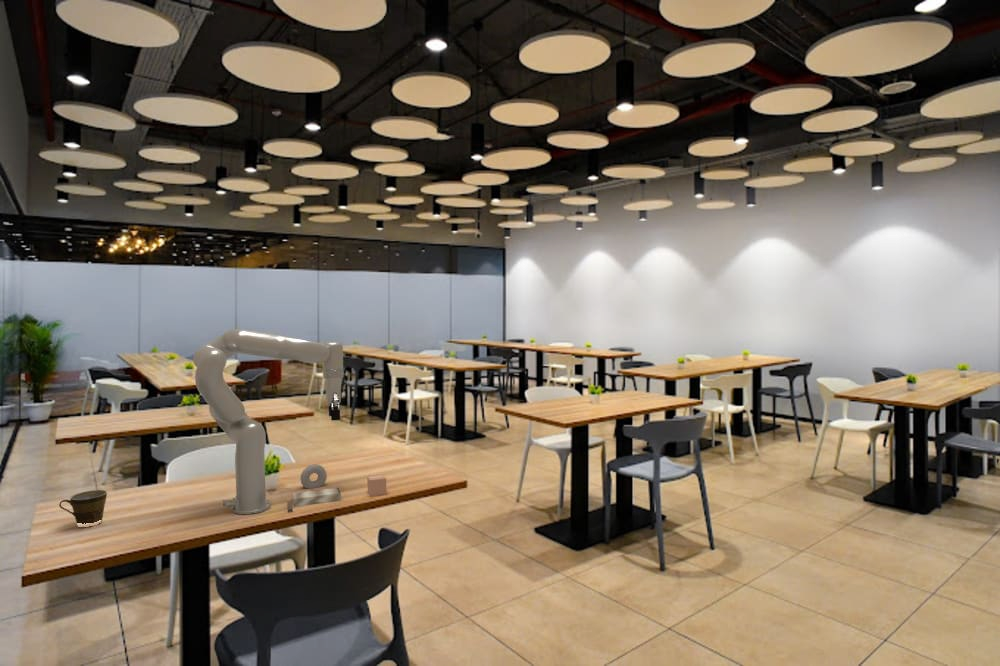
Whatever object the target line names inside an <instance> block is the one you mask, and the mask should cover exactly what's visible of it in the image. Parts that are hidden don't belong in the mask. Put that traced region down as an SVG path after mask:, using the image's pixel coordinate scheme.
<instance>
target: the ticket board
mask: <svg viewBox="0 0 1000 666" xmlns="http://www.w3.org/2000/svg"><path fill="white" fill-rule="evenodd" d="M292 495H293V496H292V499H293V500H292V499H290V500H287V501H286V502H287V512H288V513H293V512H294V509H293V508H295V507H303V506H308V505H309V506H310V505H311V506H312V505H317V504H326V503H332V502H333V503H334V502H341V501H342V493H341V489H340V487H334V488H333V487H332V488H324V489H317V490H309V491H302V492H293V494H292Z"/></svg>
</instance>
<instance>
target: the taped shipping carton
mask: <svg viewBox="0 0 1000 666" xmlns="http://www.w3.org/2000/svg"><path fill="white" fill-rule="evenodd" d="M366 478H367V493H368V495H369V497H376V496H383V495H387V478H386V476H385V474H384V473H382V474H374V475H367V477H366Z"/></svg>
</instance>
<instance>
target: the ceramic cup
mask: <svg viewBox="0 0 1000 666" xmlns="http://www.w3.org/2000/svg"><path fill="white" fill-rule="evenodd" d="M107 496H108V492H107V490H103V489H102V490H101V489H95V490H88V491H86V490H85V491H82V492H78V493H76V494H73V495H71V496H70V497H69V499H62V500H61V501H60V502H59V505H58V506H59V508H60V509H61V510H64V511H66V512H68V513H69V514H71V515H72V516H73V517H74V518H75V522H76V524H77V523H82V524H84V523H85V524H86V523H94V522H97V521H99V520H102V521H103V519H102V518H103V517H104V511H105V505H106V501H107ZM64 502H65V503H69V504H70V506H71V508H72V511H73V512H72V511H70V510H69V509H68V508H65V507H63V506H62V503H64Z"/></svg>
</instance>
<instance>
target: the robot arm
mask: <svg viewBox="0 0 1000 666" xmlns="http://www.w3.org/2000/svg"><path fill="white" fill-rule="evenodd" d="M343 346H344V345H343V343H342V342H340V341H326V342H317V341H310V340H304V339H299V338H294V337H290V336H284V335H279V334H275V333H267V332H261V331H256V330H251V329H250V330H249V329H245V328H233V329H230V330H228V331H226V332H223V334H221V335H220V336H219V335H218V337H216V338H215V339H213V340H211V341H209V342H207V343H205V344H204V345H202V346H201V347H199V348H198V349H197V350H196V351H195V352H194V354H193V356H192V357H193V359H192V360H193V361H192V362H193V364H194V366H195V367H196V370H195V376H194V380H195V381H194V382H195V386H196V387H195V388H197V391H198V392H199V394H200V395H201V397H202V398H203V399H204V401H205V402H206V403H207V405H208V411H209V413H210V415H211V417H212V418H213V420H214V421H215V423H217V424H218V426H219V428H221V430H223V432H224V434H225V435H227V437H228V438H229V439H230V440H231V441H233V442H234V443H235V444H236V446H235V453H234V467H235V492H236V493H235V494H236V495H235V497H233V498H232V499H224V500H222V507H224V506H225V507H226V508H229V507H231V512H232V511H233V512H234V514H235V513H237V514H236V515H241V514H246V515H252V514H251V513H254V514H258V512H259V513H261V512H265V511H268V510H269V509H270V508H271V504H272V503H271V501H269V500H267V496H266V493H267V492H266V490H267V489H266V463H265V449H266V448H265V447H266V439H267V438H266V437H267V436H266V435H267V434H266V430H265V428H264V426H263V425H262V423H260V422H259V421H258V420H257V421H256V420H255V419H252V418H251V417H250V416H249V415H248V414H247V413H246V411H245V410H246V409H245V408H246V407H245V405H244V403H243V402H242V401H241V400H240V398H239V397H238V396H237V395H236V393H234V391H233V390H232V389H231V387H230V386H229V385H228V383H227V382H226V380H225V378H224V370H225V368H226V365H227V361H228V360H229V359H230V358H232V357H233V356H235V355H236V354H242V355H250V356H254V357H255V356H257V357H265V358H270V359H277V360H290V361H291V360H293V361H299V362H300V361H301V362H307V363H314V364H322V375H323V376H322V378H323V379H325V403H326V404H327V405H328V416H329V417H330V419H331V422H333V421H340V420H341V410H340V404H341V400H342V399H341V398H342V395H341V394H342V393H341V392H342V391H341V390H342V386H341V385H342V383H341V379H342V378H344V352H343V351H344V347H343ZM233 512H232V513H233Z"/></svg>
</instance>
